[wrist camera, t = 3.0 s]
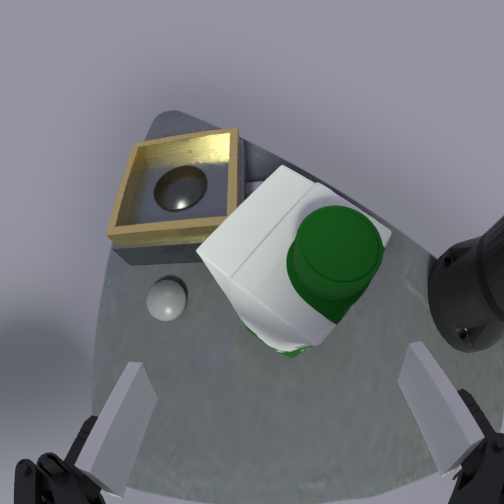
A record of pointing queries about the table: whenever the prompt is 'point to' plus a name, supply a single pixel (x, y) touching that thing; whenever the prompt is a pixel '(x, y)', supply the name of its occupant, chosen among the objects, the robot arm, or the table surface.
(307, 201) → the soya milk
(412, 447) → the table surface
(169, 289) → the grey round lid
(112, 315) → the table surface
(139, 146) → the wooden rimmed tray
